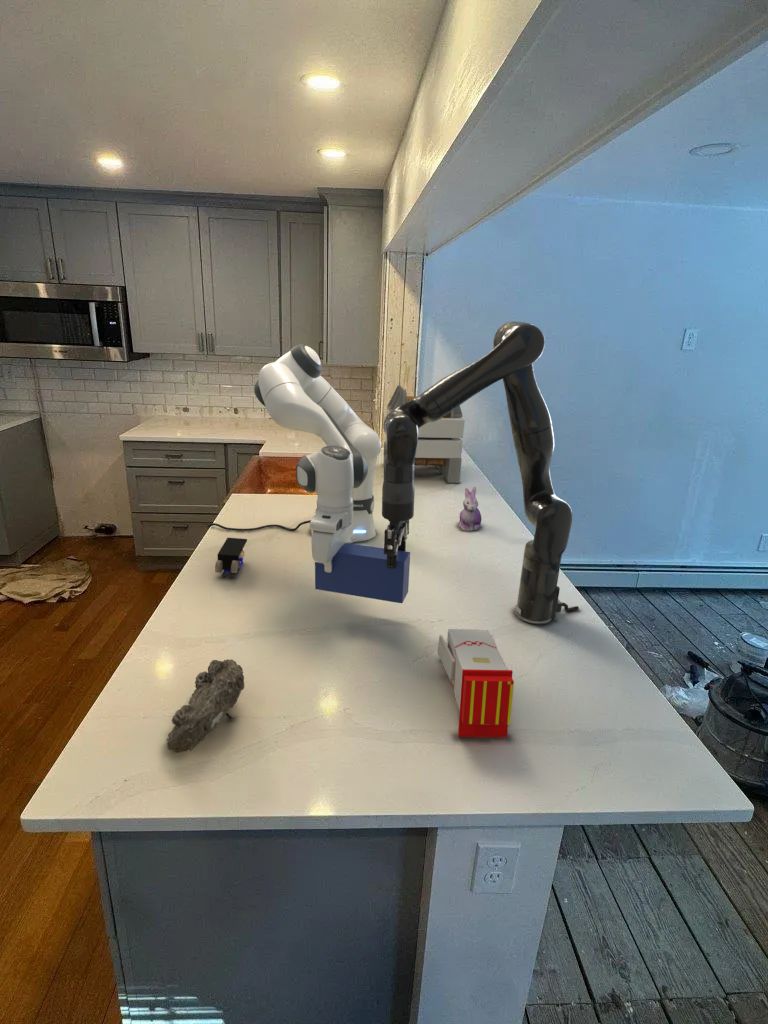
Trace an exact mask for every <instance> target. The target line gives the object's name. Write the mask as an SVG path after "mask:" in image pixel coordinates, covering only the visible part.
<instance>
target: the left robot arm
mask: <svg viewBox="0 0 768 1024" xmlns="http://www.w3.org/2000/svg"><path fill="white" fill-rule="evenodd" d="M322 368H323V363H322V361H321V358H320V356H319V355H318V353H317V352H316V351H315V350H314V349H313V348H311V347H310V346H309V345H307V344H303V343H298V344H296V345H294V346H293V347H292V348H290V350H289V351H287V352H286V353H284V354H283V355H281V356H280V357H279V358H278V359H277V360H275V361H273V362H269V363H267V364H265V365H264V366H263V367H262V368H261V369H260V371H259V372H258V376H257V380H256V382H255V383H254V387H253V390H254V391H253V392H254V395H255V397H256V399H257V401H259V402H260V403H261V405H262V406H264V407H265V408H266V411H267V412H268V415H269V416H270V418H271V419H272V420H273V421H274V422H275V424H277V425H279V426H280V427H281V428H285V429H287V430H293V431H300V432H305V433H310V434H312V435H315V436H317V437H318V438H320V439H321V440H322V441H323V442H324V444H325V446H323V447H321V448H320V449H319V450H318V452H314V453H309V454H305V455H303V456H301V457H300V459H299V460H298V461H297V463H296V466H295V478H296V483H297V485H298V486H299V487H300V488H301V489H303V490H304V491H306V492H307V493H310V494H316V495H317V499H316V508H315V511H314V514H313V516H312V518H311V519H310V520H304V521H302V522H300V523H298V525H296V527H294V528H289V527H286V526H284V525H280V524H268V525H261V526H258V527H251V528H249V527H248V528H237V527H236V528H234V527H227V526H223V525H222V524H220V523H219V524H218V523H216V522H212V523H210V524H208V525H207V526H206V528H211V527H213V526H215V527H218V528H221V529H223V530H226V531H233V532H234V531H237V532H247V531H248V532H250V531H251V532H252V531H258V530H262V529H266V528H279V529H282V530H286V531H290V532H295V531H297V530H298V529H300V527H301V526H303V525H306V524H309V529H310V533H311V557H312V560H313V561H314V563H315V562H318V563H324V565H325V572H329V573H330V572H332V570H333V564H332V558H333V557H334V555H335V554H336V553H337V552H338V551H339V549H340V548H341V547H342V546H343V545H344V544H345V543H350V544H354V543H357V542H365V541H368V540H372V539H373V538H375V537H376V535H377V532H376V528H375V523H374V513H373V512H374V509H375V496H374V476H375V470H376V465H377V461H378V456H379V455H380V453H381V451H382V442H381V439H380V437H379V435H378V433H377V432H376V430H374V429H373V428H371V427H370V426H369V425H367V424H366V423H365V422H364V421H362V419H361V418H360V417H359V416H358V415H357V413H355V411H354V410H353V409H352V407H351V406H350V405H349V404H348V402H347V401H346V400H345V399H344V398H343V397H342V396H341V395H340V393H338V391H336V389H335V388H333V386H332V385H331V384H330V383H329V382H328V380H326V379H325V378H324V377H323V376H321V372H322V370H323V369H322Z"/></svg>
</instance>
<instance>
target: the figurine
mask: <svg viewBox="0 0 768 1024" xmlns="http://www.w3.org/2000/svg"><path fill="white" fill-rule="evenodd" d="M476 494H477V487H476V486H474V487H473V488H472V489H471V491H470V490H469V488H467V487H464V499H463V501H462V506H463V509H462V510H461V511H460V513H459V521H458V527H459V528H460V529H461V530H463V531H469V532H472V531H476V530H478V529H479V528H481V523H482V514H481V512H480V510H479V508H478V507H479V501H478V498H477V497H476Z"/></svg>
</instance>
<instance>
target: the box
mask: <svg viewBox="0 0 768 1024" xmlns="http://www.w3.org/2000/svg"><path fill="white" fill-rule="evenodd" d="M332 564H333V570H332V572H330V573H329V572H325V565H324V563H318V562H315V561H314V590H319V591H324V592H329V593H336V594H342V595H348V596H355V597H361V598H367V599H373V600H378V601H379V600H380V601H385V602H390V603H397V604H403V603H404V601H405V599H406V598H407V595H408V593H409V585H410V568H411V567H410V565H411V551H406V550H405V551H399V550H397V566H396V568H395V569H390V568H387V554H384V547H379V546H378V547H377V546H371V545H364V544H357V543H345V544H344V545H343V546H342V547H341V548H340V549H339V551H338V552H337V553H336V554H335V555H334V557H333V558H332Z"/></svg>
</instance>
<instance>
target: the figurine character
mask: <svg viewBox="0 0 768 1024" xmlns="http://www.w3.org/2000/svg"><path fill="white" fill-rule="evenodd" d="M247 542H248V538H240V537H226V539H225V541H224V543H223V544H222V546H221V547H220V549H219V551H218V552H217V560H216V562H215V564H214V572H215V573H221V577H222V578H224V577H225V576H226V574H227V573H230V574H231V573H232V574H231V578H234V577H235V575H236V573H237V572H239V571H240V567H242V566H243V565H244V564H245V562H244V558H245V551H244V547H245V546H246V544H247Z"/></svg>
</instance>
